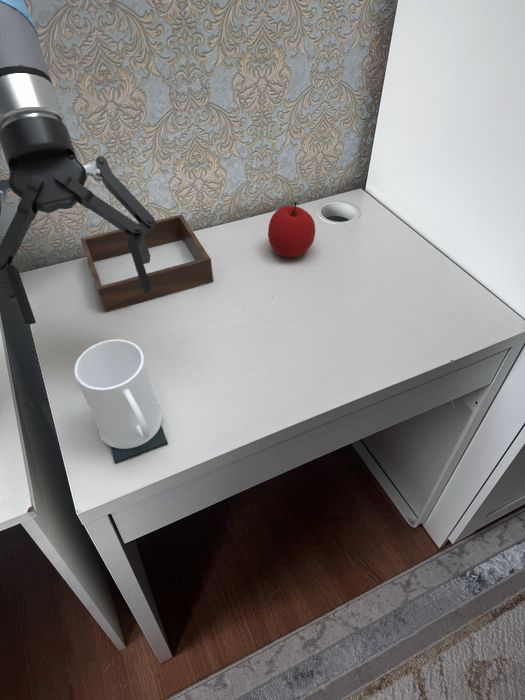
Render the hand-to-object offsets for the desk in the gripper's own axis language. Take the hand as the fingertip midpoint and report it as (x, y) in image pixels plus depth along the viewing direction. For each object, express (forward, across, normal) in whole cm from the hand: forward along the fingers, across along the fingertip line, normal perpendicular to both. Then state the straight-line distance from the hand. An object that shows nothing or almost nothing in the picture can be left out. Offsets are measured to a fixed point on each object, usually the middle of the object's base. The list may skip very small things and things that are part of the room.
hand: (91, 306), depth 56 cm
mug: (+17, 0, -7) cm, 18 cm away
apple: (-4, -38, -28) cm, 47 cm away
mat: (+17, 0, -7) cm, 19 cm away
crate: (-8, -11, -32) cm, 34 cm away
